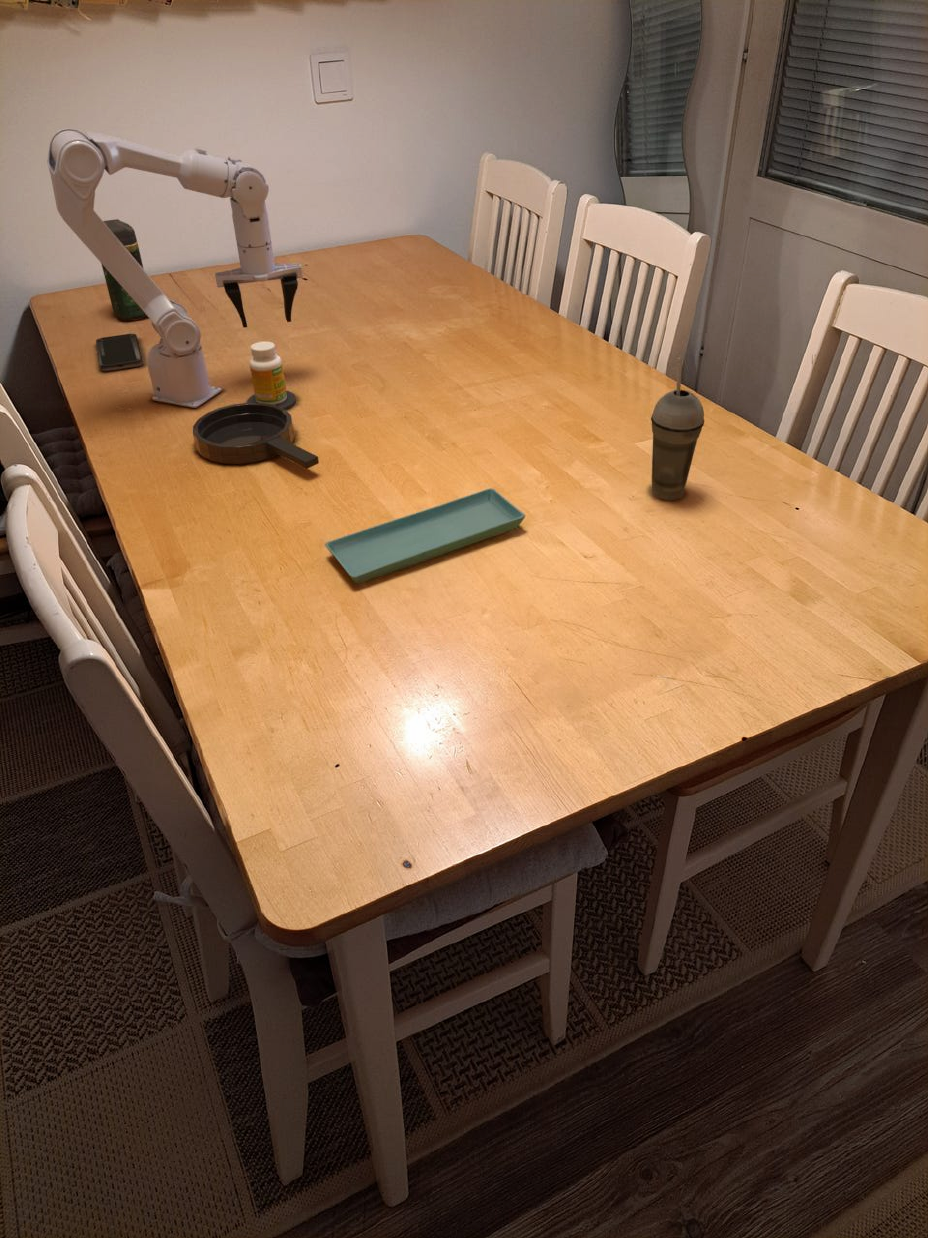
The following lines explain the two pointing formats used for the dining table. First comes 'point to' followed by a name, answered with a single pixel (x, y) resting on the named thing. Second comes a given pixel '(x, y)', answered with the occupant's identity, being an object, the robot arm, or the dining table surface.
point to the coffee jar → (119, 297)
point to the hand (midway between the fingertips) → (266, 322)
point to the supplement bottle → (267, 374)
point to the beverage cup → (674, 440)
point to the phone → (119, 352)
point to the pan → (241, 432)
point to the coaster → (285, 405)
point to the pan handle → (292, 452)
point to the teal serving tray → (424, 535)
